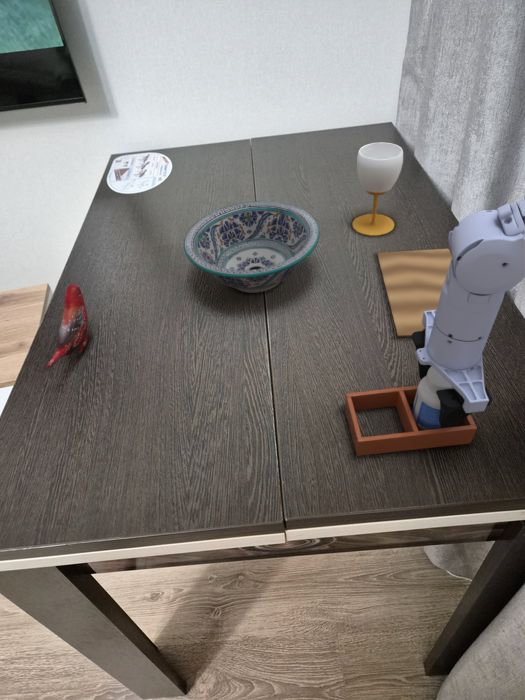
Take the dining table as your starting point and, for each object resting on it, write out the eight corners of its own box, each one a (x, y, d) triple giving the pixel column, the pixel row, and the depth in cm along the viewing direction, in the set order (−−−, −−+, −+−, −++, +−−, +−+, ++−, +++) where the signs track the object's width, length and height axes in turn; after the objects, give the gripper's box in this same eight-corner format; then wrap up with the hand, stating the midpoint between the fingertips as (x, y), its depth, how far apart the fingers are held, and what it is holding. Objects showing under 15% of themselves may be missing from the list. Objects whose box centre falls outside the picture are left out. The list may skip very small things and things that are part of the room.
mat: (486, 334, 71) (487, 332, 70) (397, 337, 72) (397, 335, 71) (448, 250, 87) (449, 248, 87) (376, 254, 88) (377, 252, 88)
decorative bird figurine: (103, 320, 82) (82, 276, 75) (71, 394, 70) (43, 351, 62) (88, 320, 82) (66, 277, 75) (54, 395, 70) (24, 352, 63)
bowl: (344, 287, 82) (347, 243, 75) (222, 336, 76) (213, 293, 69) (282, 229, 98) (279, 188, 91) (177, 265, 92) (166, 225, 85)
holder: (448, 396, 63) (453, 381, 60) (470, 443, 57) (477, 428, 55) (344, 408, 63) (345, 393, 61) (356, 456, 58) (358, 441, 55)
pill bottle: (459, 433, 59) (478, 387, 52) (422, 443, 58) (436, 398, 51) (438, 401, 62) (453, 355, 55) (403, 411, 62) (413, 365, 55)
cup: (355, 213, 100) (359, 141, 89) (395, 215, 98) (406, 141, 86) (349, 234, 94) (353, 160, 83) (392, 237, 92) (403, 161, 81)
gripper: (405, 285, 52) (391, 362, 62) (450, 378, 42) (425, 452, 52) (464, 279, 52) (441, 356, 62) (523, 369, 42) (485, 445, 52)
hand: (437, 400), depth 57 cm, fingers open, 7 cm apart
